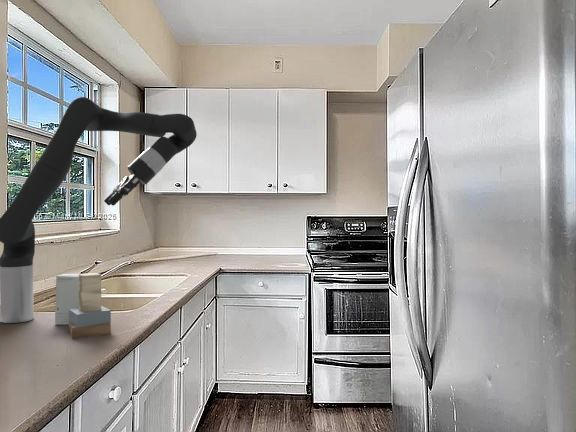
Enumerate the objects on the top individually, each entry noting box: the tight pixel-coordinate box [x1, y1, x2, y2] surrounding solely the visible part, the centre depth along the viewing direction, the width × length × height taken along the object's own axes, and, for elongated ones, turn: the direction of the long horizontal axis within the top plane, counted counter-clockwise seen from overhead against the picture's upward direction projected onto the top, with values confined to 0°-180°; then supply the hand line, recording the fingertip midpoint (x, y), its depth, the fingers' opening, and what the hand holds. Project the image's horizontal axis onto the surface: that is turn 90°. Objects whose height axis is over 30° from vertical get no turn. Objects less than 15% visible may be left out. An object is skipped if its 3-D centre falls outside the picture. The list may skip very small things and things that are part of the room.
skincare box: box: [54, 273, 80, 326], centre depth 156 cm, size 8×6×15 cm
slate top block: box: [69, 305, 112, 327], centre depth 145 cm, size 9×9×4 cm
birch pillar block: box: [78, 272, 102, 312], centre depth 145 cm, size 5×5×10 cm
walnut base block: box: [68, 322, 112, 340], centre depth 145 cm, size 10×10×4 cm
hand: (108, 203), depth 151 cm, fingers open, 8 cm apart
